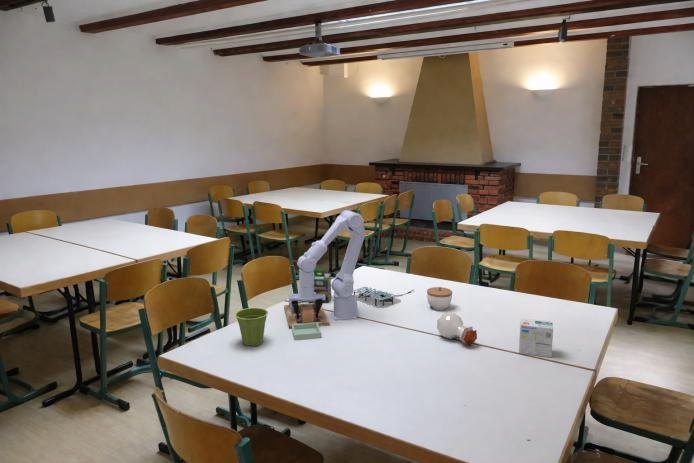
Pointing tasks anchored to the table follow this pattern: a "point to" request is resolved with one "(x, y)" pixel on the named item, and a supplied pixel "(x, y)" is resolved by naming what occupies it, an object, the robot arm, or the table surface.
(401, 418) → the table surface
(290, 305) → the cover
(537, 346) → the light bulb box
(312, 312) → the block
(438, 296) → the lidded jar
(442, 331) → the potion bottle
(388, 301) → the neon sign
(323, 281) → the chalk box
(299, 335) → the tray
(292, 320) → the board
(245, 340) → the plant pot
